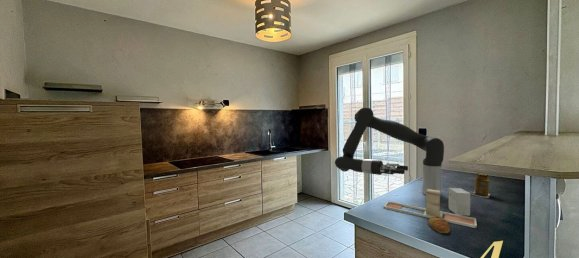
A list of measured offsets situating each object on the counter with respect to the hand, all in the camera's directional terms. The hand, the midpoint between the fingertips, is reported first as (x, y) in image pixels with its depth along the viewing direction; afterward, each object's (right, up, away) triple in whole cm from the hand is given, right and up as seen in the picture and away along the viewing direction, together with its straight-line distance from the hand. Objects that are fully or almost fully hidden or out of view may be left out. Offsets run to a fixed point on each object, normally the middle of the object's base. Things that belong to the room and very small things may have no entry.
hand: (406, 170), depth 111 cm
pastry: (+5, -21, -18) cm, 28 cm away
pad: (+9, -20, -6) cm, 23 cm away
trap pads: (+7, -20, -4) cm, 21 cm away
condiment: (+54, -18, +21) cm, 60 cm away
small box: (+23, -20, -3) cm, 31 cm away
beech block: (+9, -20, -6) cm, 22 cm away
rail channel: (+7, -20, -4) cm, 21 cm away
